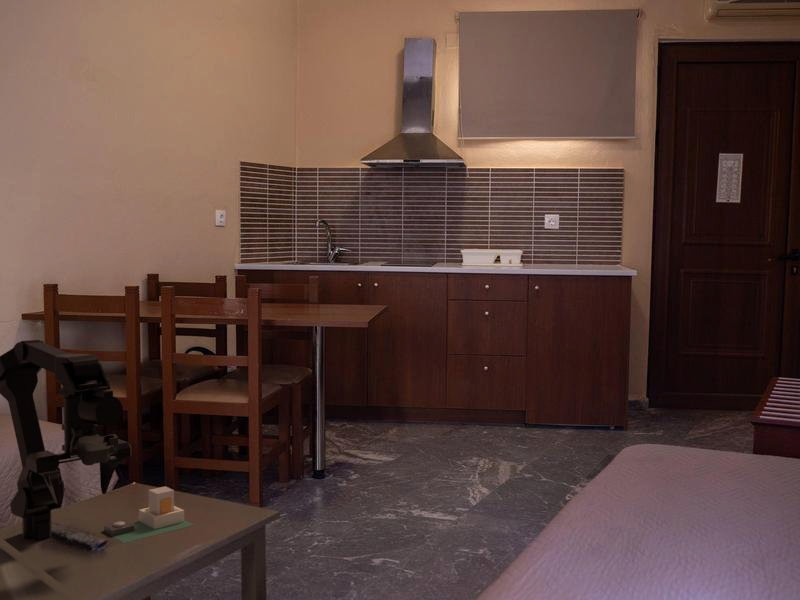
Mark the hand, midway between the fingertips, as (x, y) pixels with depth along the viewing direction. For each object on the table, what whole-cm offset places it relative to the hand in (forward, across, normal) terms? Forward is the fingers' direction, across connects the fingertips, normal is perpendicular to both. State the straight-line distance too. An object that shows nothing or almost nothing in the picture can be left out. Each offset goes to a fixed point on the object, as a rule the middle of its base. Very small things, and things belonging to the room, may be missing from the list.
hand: (81, 498), depth 157 cm
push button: (+12, +11, +7) cm, 18 cm away
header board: (+12, +17, +4) cm, 21 cm away
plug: (+11, +21, +6) cm, 24 cm away
